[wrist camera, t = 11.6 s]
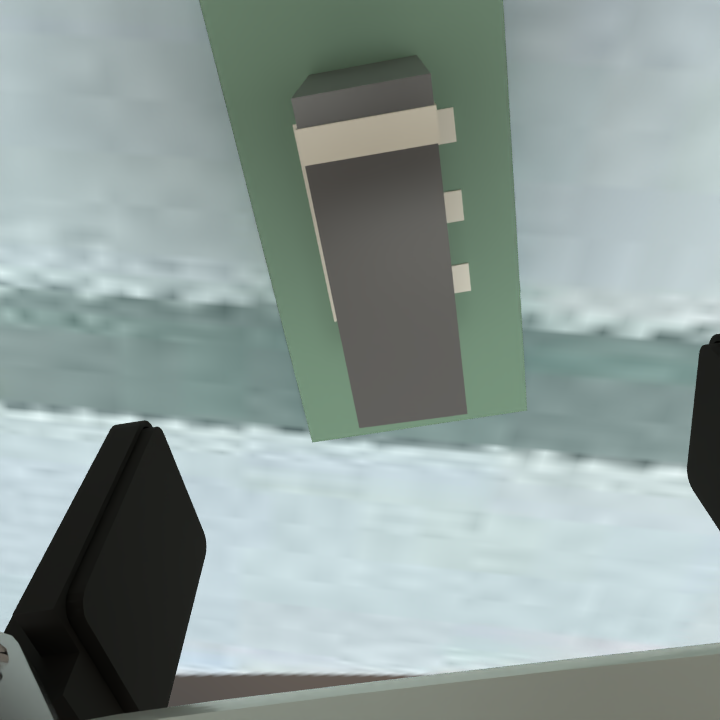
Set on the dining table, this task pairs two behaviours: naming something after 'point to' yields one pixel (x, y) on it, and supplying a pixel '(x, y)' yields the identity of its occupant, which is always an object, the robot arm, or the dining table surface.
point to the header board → (458, 167)
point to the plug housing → (384, 236)
